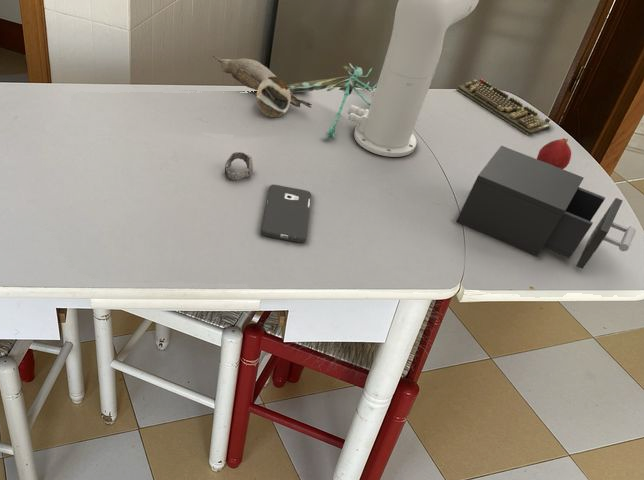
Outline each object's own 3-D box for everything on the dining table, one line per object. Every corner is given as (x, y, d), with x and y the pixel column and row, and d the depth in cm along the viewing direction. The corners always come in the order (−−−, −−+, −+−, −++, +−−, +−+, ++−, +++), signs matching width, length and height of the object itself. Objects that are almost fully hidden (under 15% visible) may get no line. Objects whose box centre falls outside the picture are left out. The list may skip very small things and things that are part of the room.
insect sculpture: (265, 140, 143) (297, 72, 162) (360, 155, 139) (382, 83, 157) (267, 114, 139) (299, 47, 157) (365, 128, 134) (387, 57, 152)
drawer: (622, 246, 121) (648, 210, 115) (608, 280, 115) (635, 243, 109) (523, 205, 127) (543, 169, 121) (504, 235, 121) (525, 198, 115)
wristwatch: (234, 159, 131) (258, 167, 129) (220, 180, 128) (244, 188, 127) (235, 144, 128) (259, 152, 127) (220, 165, 125) (245, 173, 124)
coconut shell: (290, 117, 145) (273, 113, 150) (295, 78, 141) (278, 75, 147) (258, 117, 141) (242, 113, 146) (262, 76, 138) (246, 74, 143)
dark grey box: (556, 222, 126) (584, 177, 119) (537, 257, 119) (565, 210, 112) (479, 190, 131) (501, 145, 124) (456, 221, 124) (478, 175, 117)
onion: (528, 175, 136) (547, 139, 130) (532, 162, 140) (551, 126, 134) (558, 185, 135) (579, 149, 129) (561, 171, 138) (582, 135, 132)
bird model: (224, 41, 156) (221, 64, 159) (206, 46, 152) (204, 69, 156) (325, 85, 142) (319, 109, 145) (307, 91, 139) (302, 115, 142)
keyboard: (454, 89, 159) (457, 80, 157) (481, 82, 162) (485, 73, 161) (527, 136, 147) (531, 127, 145) (555, 127, 150) (559, 119, 149)
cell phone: (306, 239, 115) (305, 244, 116) (312, 190, 125) (310, 195, 126) (261, 230, 116) (260, 235, 116) (270, 182, 125) (269, 187, 126)
